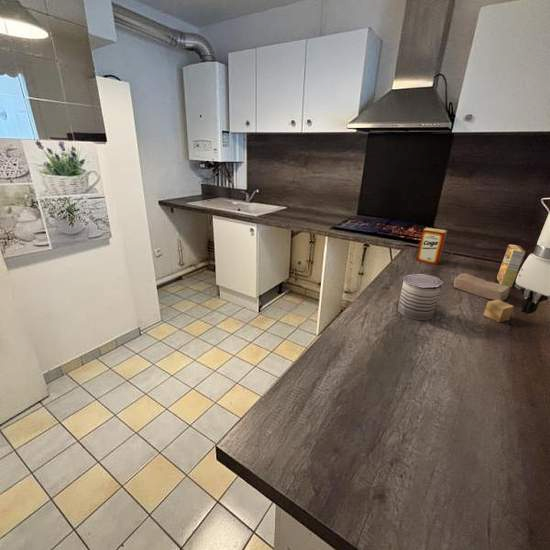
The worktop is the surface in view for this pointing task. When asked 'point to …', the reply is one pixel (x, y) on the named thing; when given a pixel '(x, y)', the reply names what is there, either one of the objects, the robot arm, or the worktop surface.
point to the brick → (481, 287)
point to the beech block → (498, 310)
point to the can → (419, 296)
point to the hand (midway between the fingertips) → (527, 312)
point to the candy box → (510, 265)
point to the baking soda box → (431, 245)
